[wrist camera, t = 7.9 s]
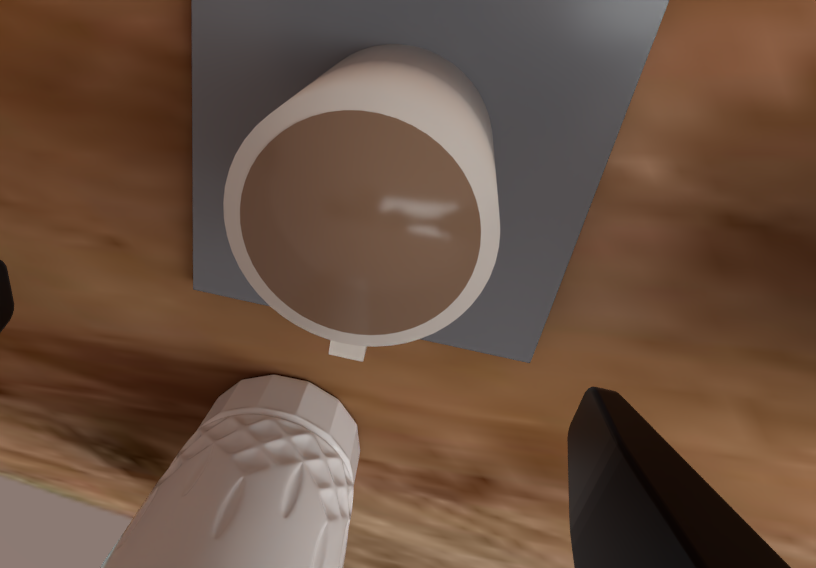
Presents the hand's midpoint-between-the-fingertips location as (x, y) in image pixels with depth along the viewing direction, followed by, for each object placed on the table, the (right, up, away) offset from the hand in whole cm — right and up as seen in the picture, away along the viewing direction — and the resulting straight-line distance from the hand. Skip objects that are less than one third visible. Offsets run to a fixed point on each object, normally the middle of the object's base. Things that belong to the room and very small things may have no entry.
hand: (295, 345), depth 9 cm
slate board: (+1, +6, +10) cm, 11 cm away
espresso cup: (+1, +5, +9) cm, 11 cm away
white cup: (-4, -6, +17) cm, 18 cm away
